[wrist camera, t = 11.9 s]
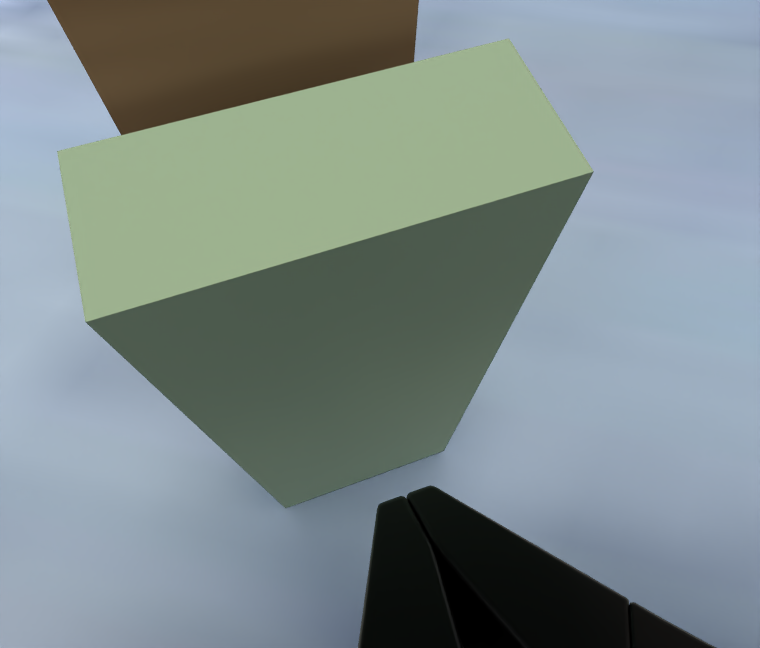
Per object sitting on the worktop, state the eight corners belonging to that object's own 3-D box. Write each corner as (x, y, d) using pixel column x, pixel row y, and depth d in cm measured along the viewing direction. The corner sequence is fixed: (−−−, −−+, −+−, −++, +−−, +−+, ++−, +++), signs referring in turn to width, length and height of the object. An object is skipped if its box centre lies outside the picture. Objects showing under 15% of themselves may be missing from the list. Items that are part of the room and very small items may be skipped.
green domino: (443, 450, 18) (593, 171, 6) (285, 508, 17) (85, 321, 5) (419, 391, 18) (509, 38, 7) (267, 443, 18) (57, 151, 6)
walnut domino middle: (392, 318, 19) (426, -99, 8) (247, 363, 19) (35, -22, 7) (373, 270, 20) (377, -179, 8) (233, 311, 19) (20, -117, 8)
